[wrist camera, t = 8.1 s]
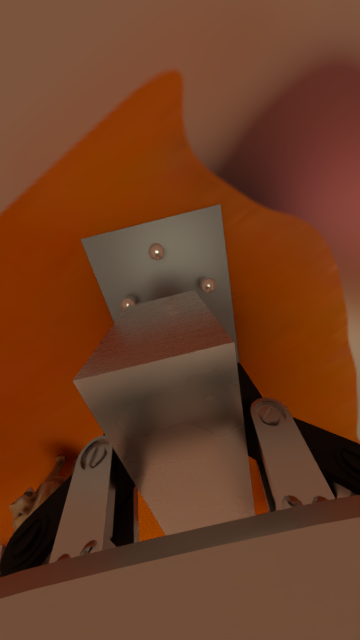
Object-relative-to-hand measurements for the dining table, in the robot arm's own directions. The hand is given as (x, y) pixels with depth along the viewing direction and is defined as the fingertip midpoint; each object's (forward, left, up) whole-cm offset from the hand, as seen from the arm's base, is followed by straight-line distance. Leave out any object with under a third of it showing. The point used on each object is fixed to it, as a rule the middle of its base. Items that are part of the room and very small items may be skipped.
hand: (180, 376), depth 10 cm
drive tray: (0, 0, -9) cm, 9 cm away
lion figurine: (+22, +19, -9) cm, 31 cm away
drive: (0, 0, -1) cm, 1 cm away
